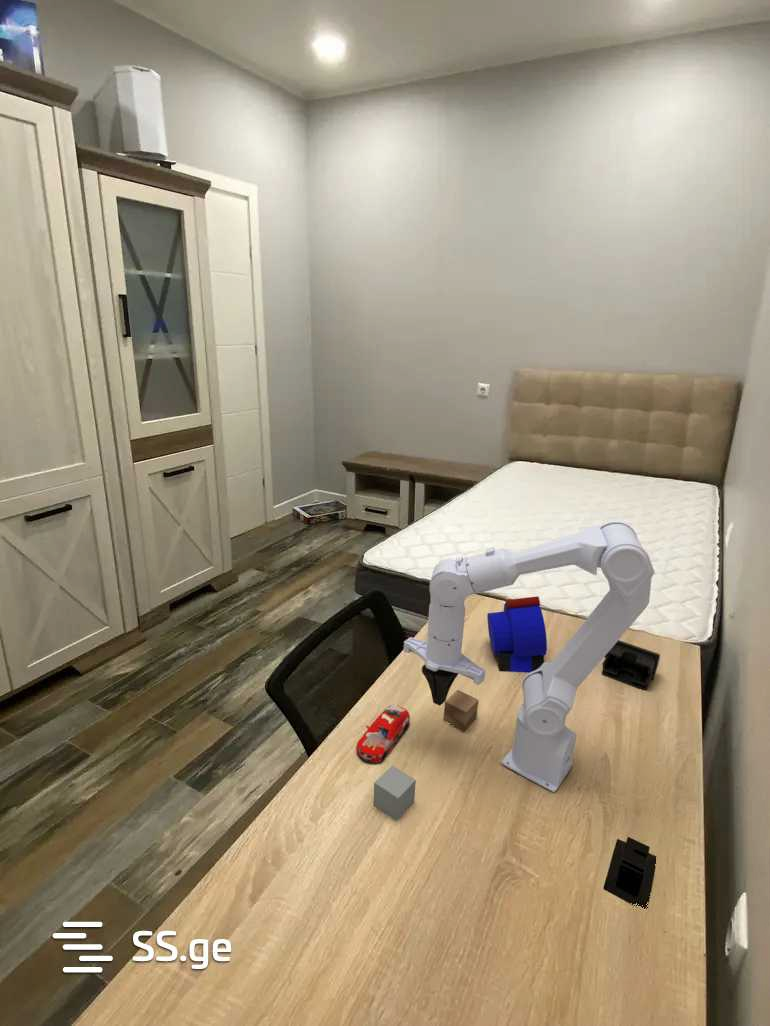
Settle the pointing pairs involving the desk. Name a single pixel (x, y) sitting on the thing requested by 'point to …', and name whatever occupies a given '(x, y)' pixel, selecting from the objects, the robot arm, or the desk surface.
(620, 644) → the black slotted holder
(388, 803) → the slate block
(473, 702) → the walnut block
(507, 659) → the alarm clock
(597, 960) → the desk surface
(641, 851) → the black open box
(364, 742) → the race car
